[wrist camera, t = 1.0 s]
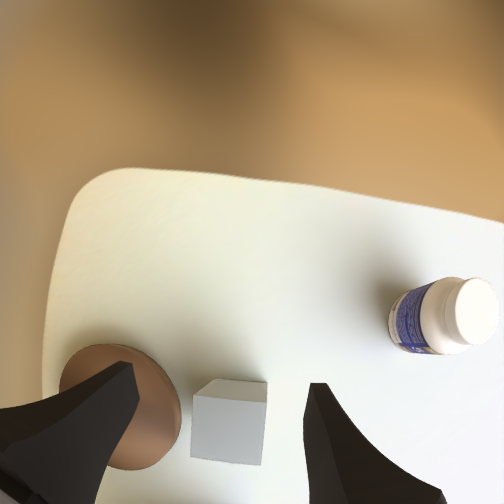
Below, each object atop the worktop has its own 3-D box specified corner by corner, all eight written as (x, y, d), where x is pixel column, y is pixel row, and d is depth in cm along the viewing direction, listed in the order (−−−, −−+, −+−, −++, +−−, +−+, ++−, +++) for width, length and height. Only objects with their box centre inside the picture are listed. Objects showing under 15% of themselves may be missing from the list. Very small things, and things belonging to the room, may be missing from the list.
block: (263, 429, 20) (260, 465, 13) (212, 424, 20) (190, 456, 14) (267, 382, 21) (266, 402, 14) (215, 378, 21) (193, 395, 15)
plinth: (180, 475, 19) (173, 484, 17) (73, 441, 20) (61, 446, 18) (185, 355, 22) (178, 357, 20) (74, 334, 23) (61, 333, 21)
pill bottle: (392, 360, 21) (451, 368, 12) (381, 298, 22) (436, 276, 14) (443, 343, 21) (510, 339, 12) (432, 285, 22) (496, 259, 14)
